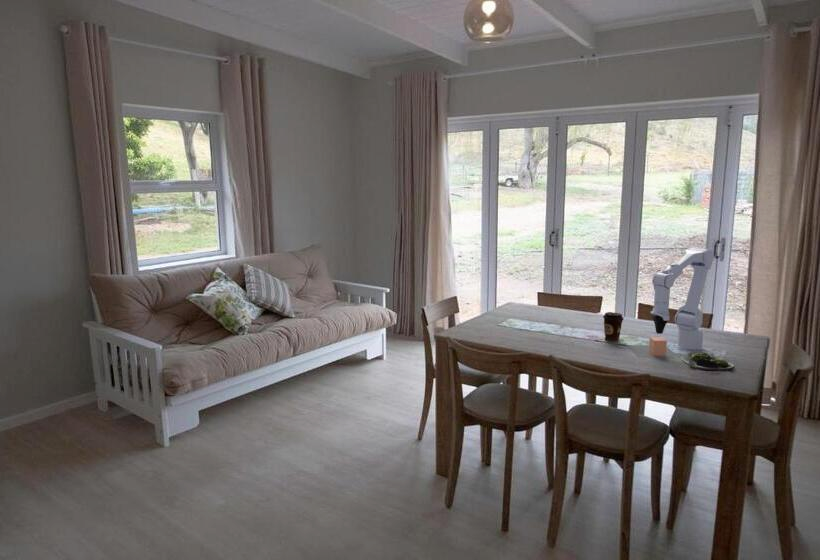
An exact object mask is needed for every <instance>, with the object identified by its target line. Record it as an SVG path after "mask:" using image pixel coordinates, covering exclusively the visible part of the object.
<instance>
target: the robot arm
mask: <svg viewBox="0 0 820 560" xmlns="http://www.w3.org/2000/svg"><path fill="white" fill-rule="evenodd" d="M714 257H715V256H714V253H713V251H712V249H710V248H707V249H706V248H699V247H692V246H689V247H688V248H687V249H686V250H684V253H683V256H682V257H681V258H680V259H679V260H678V261H677V262H676V263H674V262H673V263H669V266H667V267H666V268H664V270H662V271H661V272H657V273H655V274H654V275H653V277H652V280H651V281H652V285H653V290H654V295H653V296H654V300H653V308H652V311H650V314H651V315H652V320H653V323H654V328H655V332H656V334H657V335H658V334H661V335H663V333H664V331H665V327H666V325H667V323H668V322H669V321H670V313H669V308H670V294H671V288H672V287H673V286H674V283H675V282H676V280H677V278H679V277H681V275H683V270H684V269H685V268H687V267H688V266H690V267H691V268H692V269H693V270H694V271H693V275H692V279H691V281H690V286H689V290H688V292H687V293H688V294H687V297H686V300H685V304H684V305H682V306H680V307H678V310H677V311H676V314H675V316H674V322H675V325H676V326H677V328H678V331H677V334H678V335H677V342H676V343H673V345H674V346H676V347H677V348H678V349H679V350H696V349H698V350H699V349H702V350H701V351H703V342H704V340H703V339H704V332H703V331H704V330H703V329H702V328H701V326H702V325H703V316H704V313H703V311H702V310H701V309H700V308H699V305H700V302H701V300H702V299H701V298H702V294H703V292H704V287H705V285H706V280H707V277H708V272H709V270H711V269H712V265H713V261H714ZM698 350H697V351H698ZM699 351H700V350H699Z"/></svg>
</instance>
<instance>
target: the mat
mask: <svg viewBox="0 0 820 560" xmlns="http://www.w3.org/2000/svg"><path fill="white" fill-rule="evenodd" d="M626 346H627V348H628V349H629V350H630V351H631V352H632V353H633V354H634V355H635V356H636V357H638V358H664V359H665V358H666V359H667V358H669V359H670V358H671V359H673V358H674V359H675V358H676V359H680V358H681V357H680V356H679V355H677V354H676V353H675V352H674V351H673V350H671V348H669V347H668V346H666V356H653V355H651V354H650V353H649V344H648V345H644V344H626Z"/></svg>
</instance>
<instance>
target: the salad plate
mask: <svg viewBox="0 0 820 560" xmlns="http://www.w3.org/2000/svg"><path fill="white" fill-rule="evenodd" d="M681 360H682V361H683V363H685V364H687V365H688V366H690V367H692V368H693V369H697V370H701V371H705V372H708V371H723V372H726V371H728V372H730V371H731V370H733V369H734V368H735V364H733V363H731V362H728V361H727V360H725V359H722V358H720V357H719V356H713V355H710V354H708V353H706V352H702V353H701V352H700V353H699V352H695V353H694V354H693V353H692V352H688V353H687V355H684V356H683V357H681ZM729 370H730V371H729Z"/></svg>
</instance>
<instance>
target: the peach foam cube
mask: <svg viewBox="0 0 820 560" xmlns="http://www.w3.org/2000/svg"><path fill="white" fill-rule="evenodd" d="M648 342H649V344H648V345H649V353H650V354H651V355H653V356H666V346H667V343H668V340H666V338H664V337H661V336H659V337H657V336H655V337H654V336H652V337H651V336H649V341H648ZM667 347H668V346H667Z"/></svg>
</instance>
